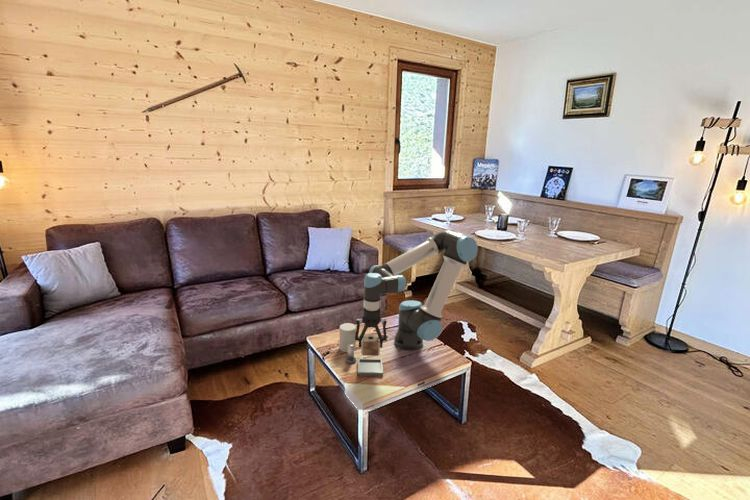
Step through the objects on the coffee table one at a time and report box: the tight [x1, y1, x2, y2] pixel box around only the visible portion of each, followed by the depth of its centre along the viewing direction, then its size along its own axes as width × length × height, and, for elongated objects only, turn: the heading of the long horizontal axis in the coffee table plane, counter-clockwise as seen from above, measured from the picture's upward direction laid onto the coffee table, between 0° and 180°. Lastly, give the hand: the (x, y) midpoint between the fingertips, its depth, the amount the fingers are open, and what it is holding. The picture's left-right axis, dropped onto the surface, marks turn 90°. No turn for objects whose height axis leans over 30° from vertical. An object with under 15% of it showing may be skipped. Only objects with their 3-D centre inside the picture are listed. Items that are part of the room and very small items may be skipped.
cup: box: [339, 322, 357, 353], centre depth 192 cm, size 8×8×12 cm
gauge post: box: [345, 344, 357, 365], centre depth 181 cm, size 5×5×8 cm
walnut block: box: [362, 333, 379, 357], centre depth 172 cm, size 7×7×7 cm
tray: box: [357, 358, 384, 377], centre depth 176 cm, size 11×11×2 cm
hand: (370, 353), depth 174 cm, fingers closed on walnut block, 7 cm apart
